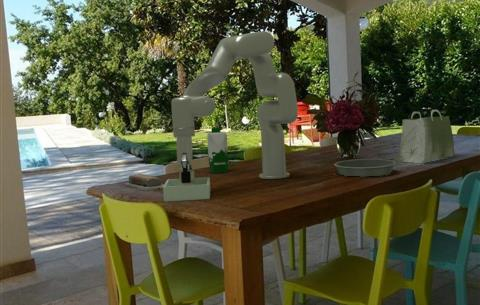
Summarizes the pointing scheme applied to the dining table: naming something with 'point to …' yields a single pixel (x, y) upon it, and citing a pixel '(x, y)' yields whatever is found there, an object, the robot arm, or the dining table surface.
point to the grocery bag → (426, 139)
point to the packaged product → (144, 182)
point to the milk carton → (217, 151)
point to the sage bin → (186, 190)
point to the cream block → (191, 178)
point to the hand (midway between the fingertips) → (187, 180)
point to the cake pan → (365, 167)
